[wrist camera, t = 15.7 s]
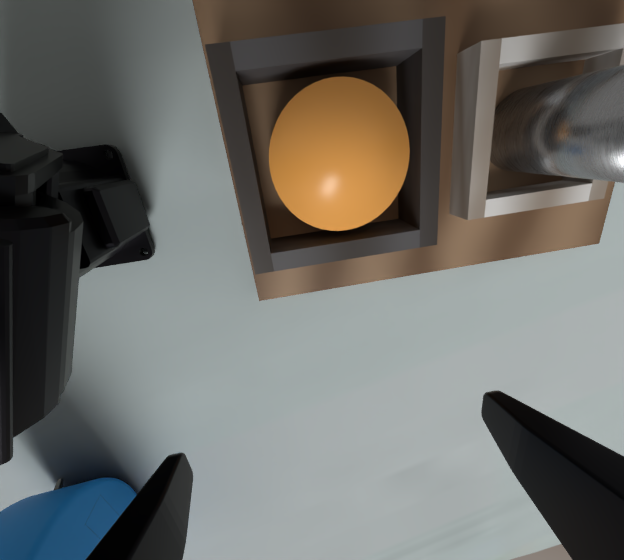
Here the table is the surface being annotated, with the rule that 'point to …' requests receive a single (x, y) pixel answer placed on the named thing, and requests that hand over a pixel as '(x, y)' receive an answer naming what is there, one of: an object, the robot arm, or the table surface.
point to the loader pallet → (419, 122)
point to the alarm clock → (63, 520)
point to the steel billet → (564, 127)
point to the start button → (339, 153)
